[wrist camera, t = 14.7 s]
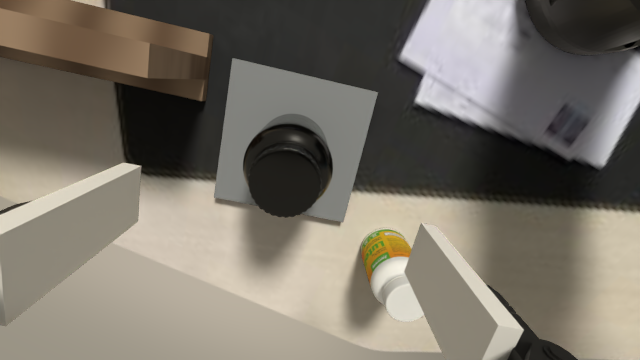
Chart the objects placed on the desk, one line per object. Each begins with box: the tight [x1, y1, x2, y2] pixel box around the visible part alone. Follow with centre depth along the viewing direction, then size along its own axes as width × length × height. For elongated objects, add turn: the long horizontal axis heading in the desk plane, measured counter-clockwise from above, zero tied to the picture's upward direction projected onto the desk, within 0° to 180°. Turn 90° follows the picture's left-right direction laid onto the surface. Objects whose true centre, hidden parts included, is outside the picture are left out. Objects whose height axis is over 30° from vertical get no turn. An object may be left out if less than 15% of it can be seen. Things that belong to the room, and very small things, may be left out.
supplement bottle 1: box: [243, 114, 333, 217], centre depth 26 cm, size 7×7×12 cm
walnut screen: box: [0, 0, 213, 101], centre depth 23 cm, size 20×6×12 cm, turn 77°
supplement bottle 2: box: [361, 228, 424, 322], centre depth 32 cm, size 5×5×10 cm
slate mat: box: [214, 58, 378, 222], centre depth 32 cm, size 14×14×1 cm
